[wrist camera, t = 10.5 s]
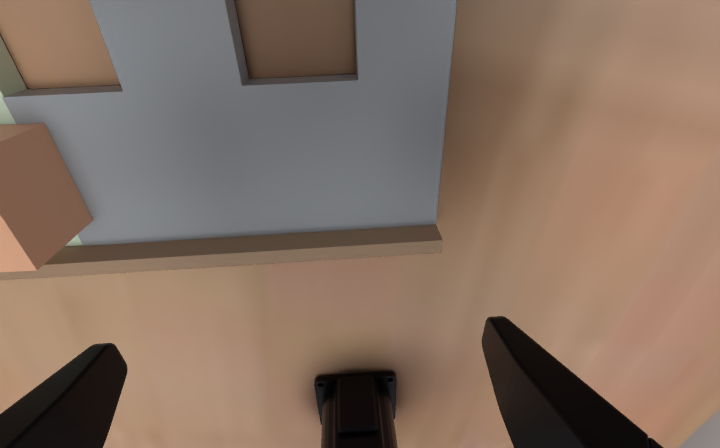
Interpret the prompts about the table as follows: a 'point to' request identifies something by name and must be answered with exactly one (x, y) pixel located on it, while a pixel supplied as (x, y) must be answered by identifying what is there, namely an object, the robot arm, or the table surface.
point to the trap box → (246, 142)
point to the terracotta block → (35, 199)
